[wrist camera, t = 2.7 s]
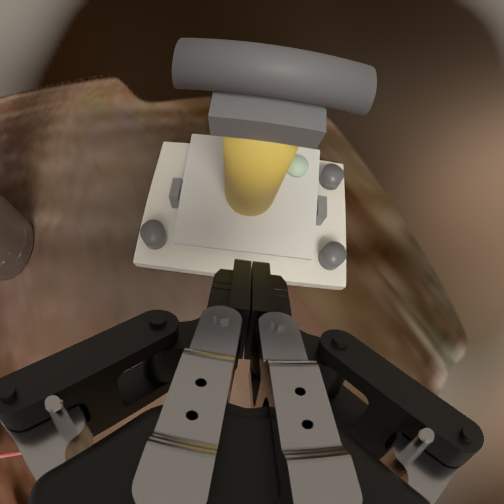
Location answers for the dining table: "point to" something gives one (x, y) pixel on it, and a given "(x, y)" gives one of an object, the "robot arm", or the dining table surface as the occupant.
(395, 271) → the dining table surface
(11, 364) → the dining table surface
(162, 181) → the base
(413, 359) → the dining table surface
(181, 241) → the yellow column stand
